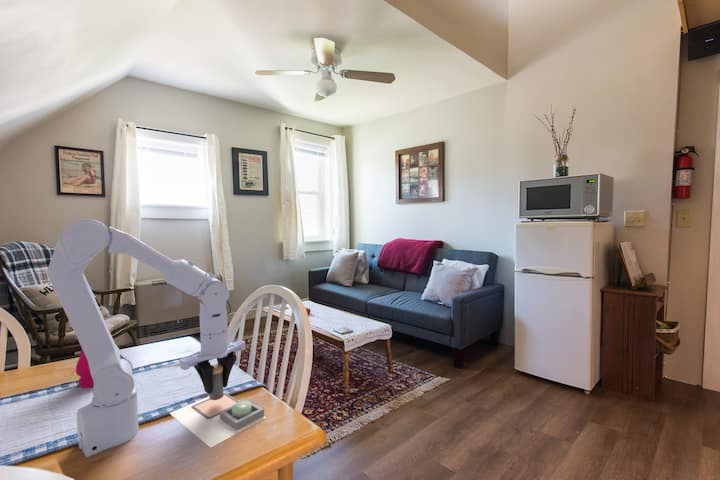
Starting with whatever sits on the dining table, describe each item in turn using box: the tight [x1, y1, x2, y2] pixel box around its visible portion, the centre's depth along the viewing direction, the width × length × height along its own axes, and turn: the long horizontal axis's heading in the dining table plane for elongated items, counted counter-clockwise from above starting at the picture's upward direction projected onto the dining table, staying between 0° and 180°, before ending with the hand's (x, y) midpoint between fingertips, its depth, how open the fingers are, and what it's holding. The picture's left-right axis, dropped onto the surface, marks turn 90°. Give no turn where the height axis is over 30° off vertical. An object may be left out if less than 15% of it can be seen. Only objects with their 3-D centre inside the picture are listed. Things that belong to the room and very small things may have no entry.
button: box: [232, 400, 252, 419], centre depth 73 cm, size 4×4×2 cm
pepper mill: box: [75, 348, 94, 389], centre depth 91 cm, size 7×7×20 cm
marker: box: [208, 363, 224, 400], centre depth 78 cm, size 3×3×7 cm
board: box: [168, 391, 267, 448], centre depth 74 cm, size 14×20×2 cm
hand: (216, 389), depth 78 cm, fingers closed on marker, 3 cm apart
